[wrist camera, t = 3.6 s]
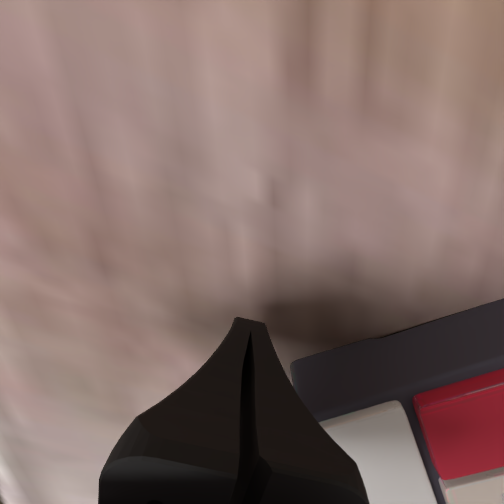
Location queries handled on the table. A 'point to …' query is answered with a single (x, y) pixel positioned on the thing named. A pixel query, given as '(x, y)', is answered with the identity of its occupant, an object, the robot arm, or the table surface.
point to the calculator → (418, 408)
